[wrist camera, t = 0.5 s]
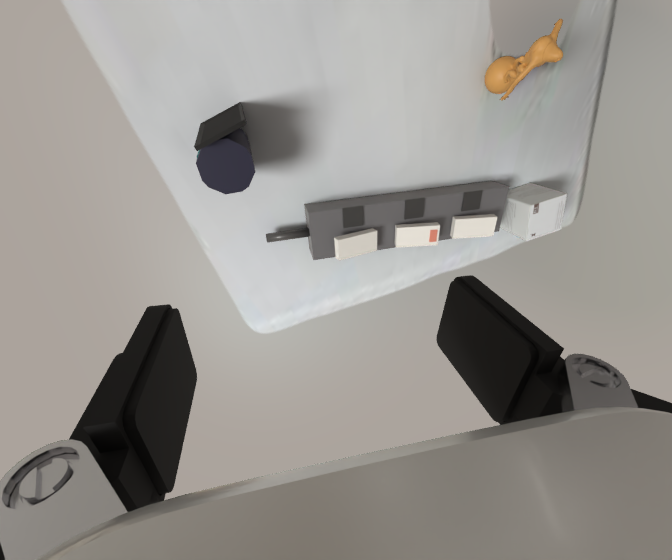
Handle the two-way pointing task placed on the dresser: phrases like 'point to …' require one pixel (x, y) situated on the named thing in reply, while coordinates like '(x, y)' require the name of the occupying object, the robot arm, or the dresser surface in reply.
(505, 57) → the figurine
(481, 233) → the block
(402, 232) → the block
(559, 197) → the skincare box
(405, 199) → the power strip
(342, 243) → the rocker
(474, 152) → the dresser surface
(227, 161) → the speaker
